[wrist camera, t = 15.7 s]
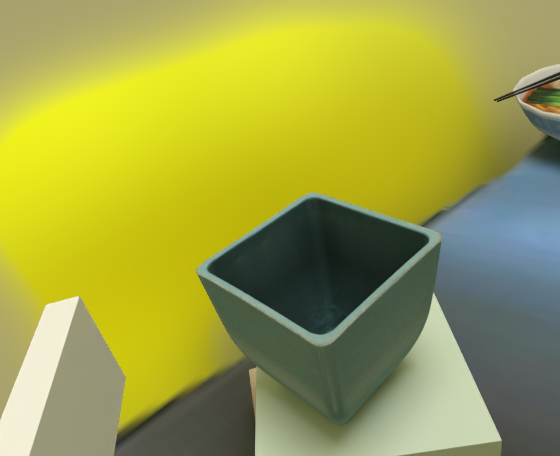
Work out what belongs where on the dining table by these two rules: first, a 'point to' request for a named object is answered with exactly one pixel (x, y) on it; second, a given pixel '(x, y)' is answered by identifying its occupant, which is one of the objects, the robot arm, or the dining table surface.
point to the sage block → (388, 410)
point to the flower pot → (326, 298)
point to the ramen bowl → (540, 99)
